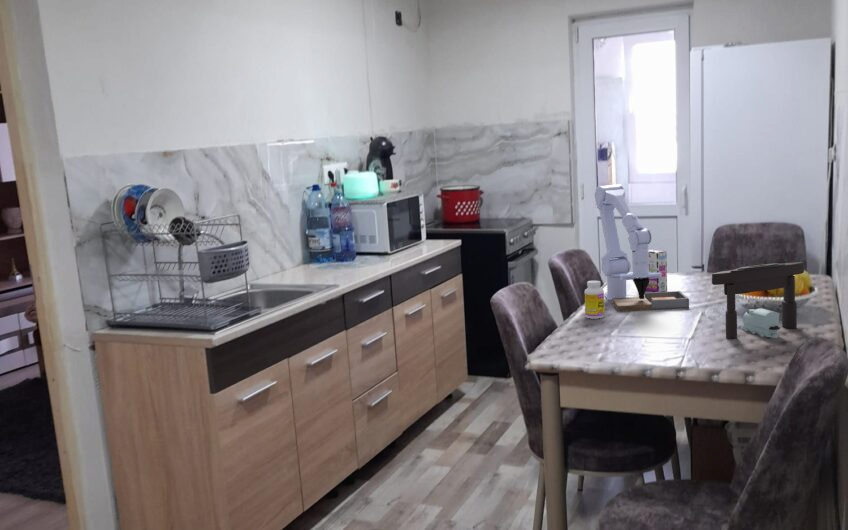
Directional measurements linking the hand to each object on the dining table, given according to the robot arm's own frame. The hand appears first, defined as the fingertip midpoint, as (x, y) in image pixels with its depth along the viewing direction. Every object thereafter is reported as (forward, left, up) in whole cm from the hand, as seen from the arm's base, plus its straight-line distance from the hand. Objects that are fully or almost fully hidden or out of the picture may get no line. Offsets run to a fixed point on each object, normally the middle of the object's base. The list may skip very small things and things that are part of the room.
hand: (641, 298), depth 285 cm
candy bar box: (-27, +9, -3) cm, 29 cm away
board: (0, -4, -3) cm, 5 cm away
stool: (+44, +28, -3) cm, 52 cm away
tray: (0, +9, -3) cm, 9 cm away
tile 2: (0, +10, -2) cm, 10 cm away
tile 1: (0, +6, -2) cm, 6 cm away
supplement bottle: (+14, -19, -3) cm, 24 cm away
